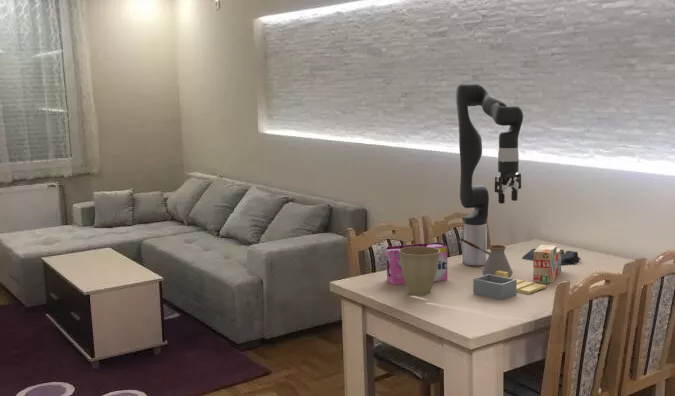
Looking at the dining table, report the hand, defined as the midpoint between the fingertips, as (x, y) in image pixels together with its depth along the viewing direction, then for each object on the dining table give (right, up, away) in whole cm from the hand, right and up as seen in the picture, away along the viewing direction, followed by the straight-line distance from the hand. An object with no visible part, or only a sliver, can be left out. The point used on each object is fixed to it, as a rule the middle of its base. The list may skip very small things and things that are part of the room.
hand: (508, 201), depth 273 cm
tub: (-9, -33, -18) cm, 39 cm away
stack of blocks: (+17, -29, +6) cm, 34 cm away
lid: (+1, -32, -10) cm, 33 cm away
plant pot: (-35, -33, -12) cm, 50 cm away
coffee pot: (-8, -30, +6) cm, 31 cm away
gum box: (-34, -31, +6) cm, 46 cm away
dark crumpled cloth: (+27, -25, +34) cm, 50 cm away
